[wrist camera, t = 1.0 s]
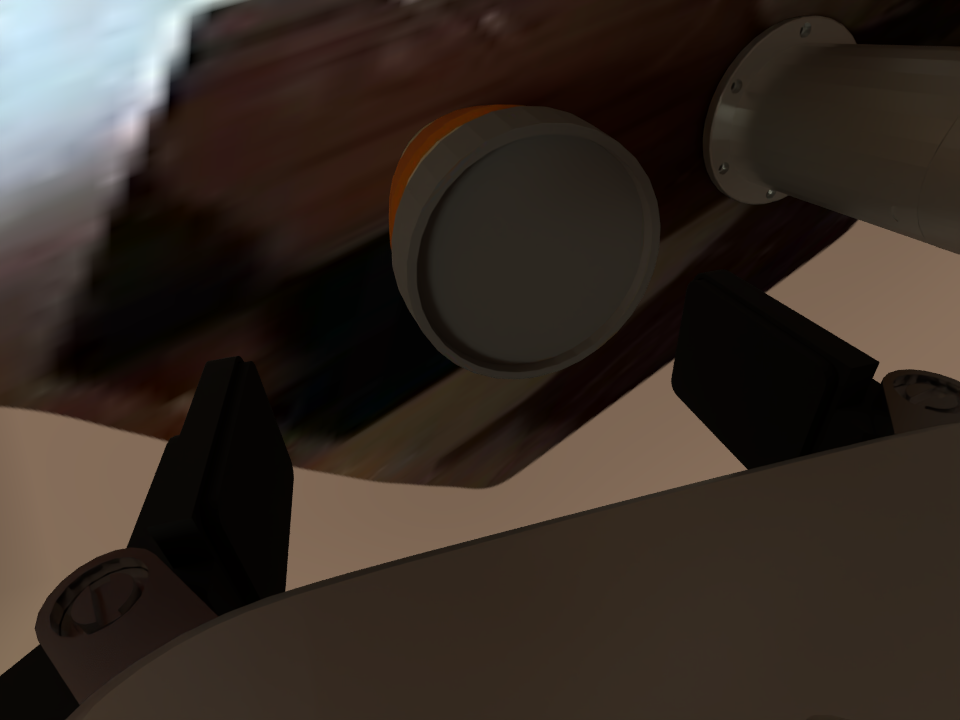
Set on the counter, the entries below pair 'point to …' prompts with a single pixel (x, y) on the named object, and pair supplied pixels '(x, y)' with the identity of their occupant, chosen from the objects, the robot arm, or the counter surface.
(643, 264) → the reusable coffee cup
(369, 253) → the counter surface
